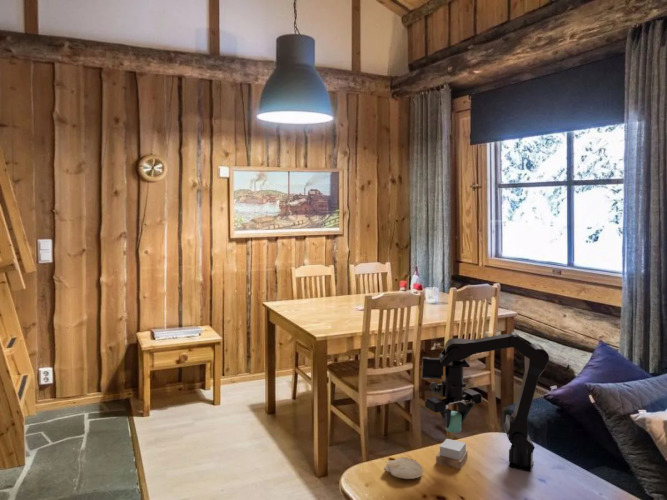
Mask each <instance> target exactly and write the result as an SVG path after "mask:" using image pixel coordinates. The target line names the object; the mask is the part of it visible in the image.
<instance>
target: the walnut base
mask: <svg viewBox="0 0 667 500" xmlns="http://www.w3.org/2000/svg"><path fill="white" fill-rule="evenodd" d="M467 460H468V450H466V452H465V453H464V455H463V456H462V458H461V459H460V460H456V459H452V458H448V457H444V456H440V451H438V453H437V454H436V455H435V464H437V465H440V466H444V467H448V468H452V467H453V469H456V468H457V469H456V470H462V468H463V466H464V465H465V463H466V462H467Z"/></svg>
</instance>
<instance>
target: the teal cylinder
mask: <svg viewBox="0 0 667 500" xmlns="http://www.w3.org/2000/svg"><path fill="white" fill-rule="evenodd" d="M461 421H462V414H461V413H459V412H458V411H456V410H451V417H450V423H449V427H448V428H446V427H445V430H446V431H447V432H449V433H454V434H455V433H460V432H462V425H461Z"/></svg>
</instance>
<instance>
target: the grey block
mask: <svg viewBox="0 0 667 500" xmlns="http://www.w3.org/2000/svg"><path fill="white" fill-rule="evenodd" d="M466 445H467V443H466V442H462V441H459V440H454V439H450V438H446V439H445V440H444V441H443V442H442V443H441V445H440V446H439V452H440V456H444V457H448V458H452V459H456V460H460V459H461V458H462V456H463V455H464V453H465V452H466V451H467V450H466V449H467V446H466Z"/></svg>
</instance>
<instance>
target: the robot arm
mask: <svg viewBox="0 0 667 500" xmlns="http://www.w3.org/2000/svg"><path fill="white" fill-rule="evenodd" d="M510 348H514V349H515V350H517V351H518V352H519V353H520V354H522V355H523V356H524V373H523V376H522V381H521V385H520V388H519V392H518V395H517V399H516V402H515V406H514V411H512V413H511V415H509V414H506V415H505V421H504V423H503V428H504V432H505V434H506V436H507V439H508V441H509V443H510V444H511V445H510V447H509V450H508V462H509V466H508V467H510V468H514V469H517V470H522V471H526V472H531V471H532V469H533V467H534V466H533V465H534V463H535V462H534V461H533V459H534V457H533V456H534V450H535V449H536V448H535V445H534V443H533V441H532V439H531V438H530V434H529V424H528V423H529V422H528V421H529V419H528V418H529V415H530V411H531V407H532V404H533V399H534V397H535V392H536V390H537V385H538V381H539V378H540V376H541V375H542V374H543V372H545V370H546V368H547V366H548V364H549V361H550V356H549V353H548V352H547V351H546V350H545V349H544V347H543V346H542V345H540V344H539V343H536V342H535V343H532V342H531V341H529V340H527V339H525V338H524V337H523V336H520V335H519V334H518V333H517V332H515V331H511V332H509V333H504V334H498V335H492V336H491V335H490V336H486V337H481V338H475V339H471V338H469V339H468V338H450V339H448V340H447V341H446V343H444V349H443V350H442V351H441V352H440V353H439V355H438V357H428V356H422V361H421V379H424V380H427V379H428V380H440V379H441V378H442V377H443V376H444V380H442V381H441V383H438V382H437V381H436V382H429V392H430V393H431V394H434V395H435V396H433V397H427V398H426V399H425V401H424V407H425V408H426V409H428V410H430V411H432V412H433V413H437V414H438V413H439V414H440V416H441V418H442V421H443V424H444V427H445V429H446V428H448V427H449V423H450V417H451V411H452V410H451V409H450V408H449V405H453V404H456V405H457V412H459V413H461V414H462V421H461V426H462V424H463V423H464V421H465V419H466V418H467V416H468V414H470V413H469V412H470V411H471V409H472V408H473V407H475V405H477V404H482V403H483V396H482V393H480V392H478V391H476V390H474V389H465V390H464V388H466V385H467V383H465V382H464V368H470V367H471V365H470V363H469V361H467V358H470V357H471V356H473V355H476V354H480V353H486V352H492V351H497V350H504V349H510ZM436 395H440V397H442V398H443V399H442V398H439V397H438V396H436Z"/></svg>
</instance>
